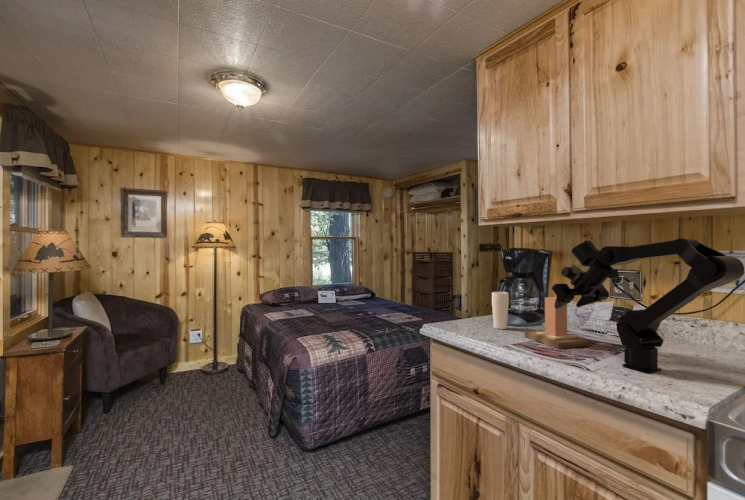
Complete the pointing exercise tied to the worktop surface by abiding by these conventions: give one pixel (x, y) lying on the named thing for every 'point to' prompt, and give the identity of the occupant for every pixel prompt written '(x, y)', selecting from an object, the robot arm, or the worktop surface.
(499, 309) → the drinking glass
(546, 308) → the terracotta tower brick
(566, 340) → the wooden board
